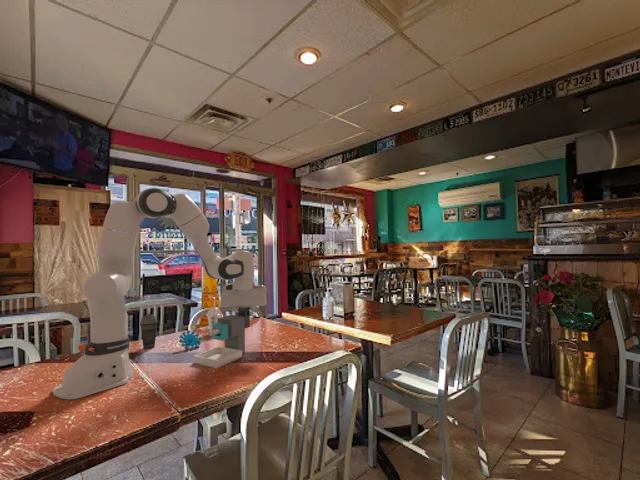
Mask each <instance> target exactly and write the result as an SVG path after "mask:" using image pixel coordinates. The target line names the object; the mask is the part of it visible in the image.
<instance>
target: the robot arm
mask: <svg viewBox="0 0 640 480" xmlns="http://www.w3.org/2000/svg"><path fill="white" fill-rule="evenodd" d="M165 216H167V217H169V218H171V220H173V221H174V223H175V225H176V226H177V227H178V229H179V230H180V231H181V233H182V234H183V235H184V237H185V238H187V240H188V241H189V242H190V244H191V245H192V247H193V248H194V250H195V251H196V253H197V255H198V256H199V257H200V259H201V261H202V263H203V266H204V269H205V273H206V275H207V276H208V277H209V278H211V279H212V280H224V281H231V280H233V282H230V283H227V284H225V285H224V286H223V291H222V293H221V298H220V305H221V306H222V307H232V310H233V312H234V315H236V316H239V315H238V314H239V312H238V310H237V307H242V306H244V307H251V311H250V312H249V316H250V317H253V316H254V311H255V309H256V307H265V306H266V305H267V293H268V289H267V287H266V286H265V285H263V284H261V285H255V277H254V269H255V268H254V267H255V261H254V255H253V253H252V252H251V251H249V250H244V249H237V250H235V251H234V252H232V253H231V254H229V255H227V256H225V257H221V256H219V255H218V254H217V253H216V252H215V250H214V249H213V247H212V246H211V245H210V242H209V241H208V237H207V236H208V233H209V231H210V224H209V221H208V219H207V217H206V215H205V214H204V213H203V210H201V209H200V207H199V206H198V205H197V204H196V203H195V201H194V200H193V199H192V198H191V197H190V196H189V195H187V193H175V194H174V195H173V194H171V193H168V192H167V191H165V190H163V189H161V188H158V187H157V188H155V187H151V188H147V189H143V190H142V191H140V192H139V193H137V194H136V195H135V196H134V197H133V199H132V200H131V201H126V200H118V201H115V202H112V203H111V204H110V206H109V208H108V210H107V212H106V215H105V218H104V221H103V224H102V229H101V233H100V234H101V235H100V239H99V243H98V249H97V253H98V271H96V272H94V273H92V274H91V275H90V276H89V277H88V278H87V279H86V281H85V282H84V284H83V287H82V290H83V291H82V292H83V295H84V296H85V298H86V304H87V308H88V313H89V320H90V340H89V342H88V343H87V344H84V343H81V344H78V346H77V350H79V351H84V354H83V355H82V356H80V357H79V358H78V359H77V360H76V361H75V362H74V363H72V364H71V365H70V366H69V367H68V368H67V369H66V370H65V371H64V373H63V375H62V379H61V384H60V385H57V386H54V387H53V389H52V394H53V396H54V397H56V398H59V399H62V400H77V399H80V398H84V397H87V396H91V395H93V394H96V393H99V392H103V391H106V390H109V389H113V388H115V387H116V388H117V387H119V386H124V385H125V384H127V383H128V382H129V379H130V378H132V377H133V375H134V373H133V370H132V367H131V361H130V355H129V350H130V336H129V334H128V333H129V332H128V331H129V329H128V327H129V323H128V322H129V314H128V313H127V312H128V311H127V309H126V301H125V294H127V293H128V292H129V290H130V289H131V287H132V282H133V281H132V280H133V272H134V271H133V270H134V257H135V251H136V245H137V240H138V235H139V229H140V226H141V223H142V221H143V220H144V219H157V218H162V217H165Z"/></svg>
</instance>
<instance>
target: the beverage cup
mask: <svg viewBox="0 0 640 480" xmlns="http://www.w3.org/2000/svg"><path fill="white" fill-rule="evenodd" d="M145 307H146V314H145V315H144V316H143V317H141V319H140V323H139V324H140V325H139V326H140V329H141V338H142V346H143V350H145V349H146V350H147V349H148V350H152V348H153V349H154V348H155V347H156V345H155V344H156V338H157V337H156V336H157V328H158V327H157V326H158V323H159V322H158V318H157V317H156V315H155V314H151V313H149V307H148V304H146V306H145ZM146 350H145V351H146Z"/></svg>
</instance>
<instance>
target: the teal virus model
mask: <svg viewBox="0 0 640 480" xmlns="http://www.w3.org/2000/svg"><path fill="white" fill-rule="evenodd" d="M195 333H196V332H195V330H192V331H191V330H189V329H188V330H187V331H183V332H181V335H180V336H179V342H178V343H180V344H181V347H185V349H186V350H189V349H190V350H192V351H194V349H198V348H199V346H200V345H201V344H202V342H201V341H203V339H204V337H203V336H200V335H199V334H200V333H196V334H195ZM199 336H200V337H199Z"/></svg>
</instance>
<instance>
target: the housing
mask: <svg viewBox="0 0 640 480" xmlns="http://www.w3.org/2000/svg"><path fill="white" fill-rule="evenodd" d="M218 323H223V324H228V339H227V340H224V347H228V348H233V349H238V350H242V355H244V354H246V336H245V335H246V328H245V317H244V316H236V315H235V314H229V315H226V316H221V318H218Z"/></svg>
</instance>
